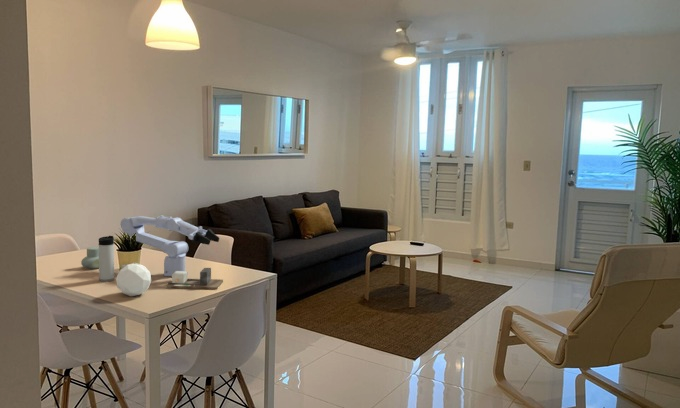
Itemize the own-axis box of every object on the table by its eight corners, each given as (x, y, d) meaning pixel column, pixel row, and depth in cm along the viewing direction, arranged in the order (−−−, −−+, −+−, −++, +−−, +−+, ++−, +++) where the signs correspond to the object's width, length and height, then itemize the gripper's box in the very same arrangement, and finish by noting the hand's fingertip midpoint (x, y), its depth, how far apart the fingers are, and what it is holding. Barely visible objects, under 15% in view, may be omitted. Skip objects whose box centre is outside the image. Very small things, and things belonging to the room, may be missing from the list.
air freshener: (88, 271, 246) (88, 250, 245) (78, 268, 250) (77, 248, 249) (108, 266, 255) (108, 247, 254) (98, 264, 259) (98, 245, 258)
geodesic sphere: (105, 287, 200) (128, 259, 202) (106, 278, 212) (127, 252, 214) (137, 306, 205) (159, 278, 207) (136, 296, 218) (156, 270, 220)
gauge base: (166, 288, 221) (166, 272, 221) (175, 280, 234) (175, 265, 234) (216, 289, 222) (217, 273, 221) (223, 281, 235) (223, 266, 234)
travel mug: (118, 279, 233) (117, 236, 231) (107, 282, 227) (106, 238, 225) (107, 277, 235) (106, 235, 233) (96, 281, 229) (95, 237, 227)
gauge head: (170, 285, 222) (170, 276, 221) (176, 279, 231) (176, 271, 230) (181, 285, 222) (181, 276, 222) (187, 280, 231) (187, 271, 230)
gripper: (183, 224, 232) (207, 235, 229) (201, 221, 246) (224, 231, 242) (179, 239, 234) (203, 249, 230) (197, 234, 247) (221, 244, 244)
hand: (214, 241), depth 236 cm, fingers open, 7 cm apart
